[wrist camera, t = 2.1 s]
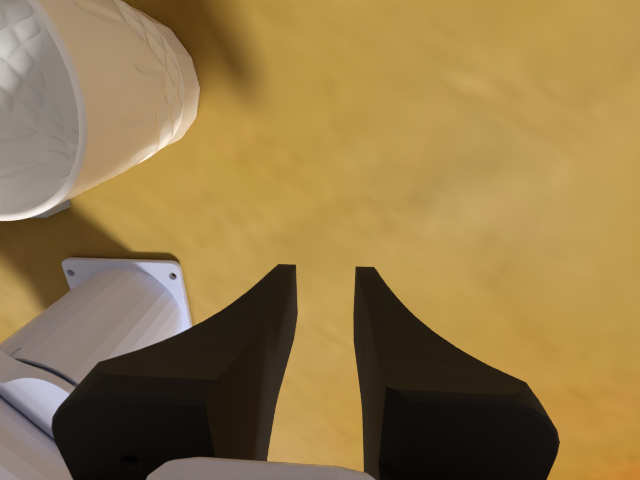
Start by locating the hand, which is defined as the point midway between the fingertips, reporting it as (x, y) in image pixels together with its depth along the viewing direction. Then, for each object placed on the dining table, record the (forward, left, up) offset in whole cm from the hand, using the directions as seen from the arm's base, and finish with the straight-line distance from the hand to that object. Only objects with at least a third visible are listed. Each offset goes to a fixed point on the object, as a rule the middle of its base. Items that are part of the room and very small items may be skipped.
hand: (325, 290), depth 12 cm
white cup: (+7, +11, -10) cm, 16 cm away
